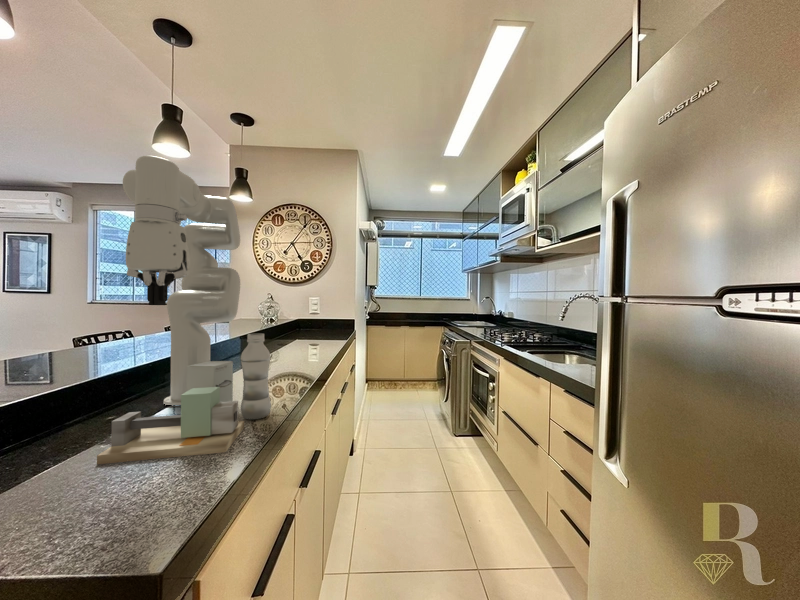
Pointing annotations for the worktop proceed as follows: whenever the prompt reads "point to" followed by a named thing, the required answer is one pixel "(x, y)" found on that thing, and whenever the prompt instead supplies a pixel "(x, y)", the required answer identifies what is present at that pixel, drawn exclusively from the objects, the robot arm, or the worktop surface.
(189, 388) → the supplement box
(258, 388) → the plastic bottle
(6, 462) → the worktop surface
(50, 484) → the worktop surface
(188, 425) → the pale green block
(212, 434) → the cable board
